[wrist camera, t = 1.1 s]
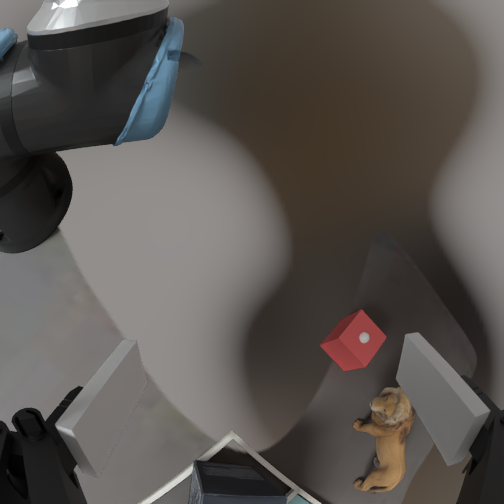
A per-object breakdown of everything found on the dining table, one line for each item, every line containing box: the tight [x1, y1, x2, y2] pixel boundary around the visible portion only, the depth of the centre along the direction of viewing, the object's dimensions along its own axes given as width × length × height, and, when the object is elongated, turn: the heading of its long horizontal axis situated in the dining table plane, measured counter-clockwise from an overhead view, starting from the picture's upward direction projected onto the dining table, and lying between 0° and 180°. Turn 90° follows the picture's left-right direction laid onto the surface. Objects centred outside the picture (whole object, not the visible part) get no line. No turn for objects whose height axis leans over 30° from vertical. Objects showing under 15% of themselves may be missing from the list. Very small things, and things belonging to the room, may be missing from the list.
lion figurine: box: [353, 386, 415, 494], centre depth 24 cm, size 15×5×9 cm, turn 9°
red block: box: [320, 309, 387, 371], centre depth 31 cm, size 4×4×5 cm
